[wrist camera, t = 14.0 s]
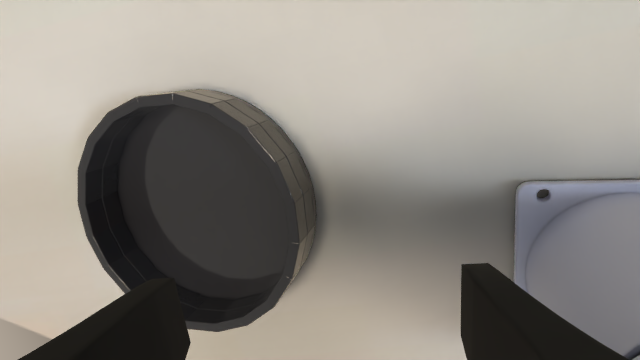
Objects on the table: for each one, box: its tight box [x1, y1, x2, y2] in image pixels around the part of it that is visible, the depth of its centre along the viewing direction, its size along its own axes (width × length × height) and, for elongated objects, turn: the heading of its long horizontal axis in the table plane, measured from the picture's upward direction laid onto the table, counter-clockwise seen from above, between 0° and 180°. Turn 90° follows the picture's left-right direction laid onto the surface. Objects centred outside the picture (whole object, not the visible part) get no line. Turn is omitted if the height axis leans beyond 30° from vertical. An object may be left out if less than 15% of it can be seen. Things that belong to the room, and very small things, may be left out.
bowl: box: [78, 89, 316, 332], centre depth 21 cm, size 12×12×3 cm
